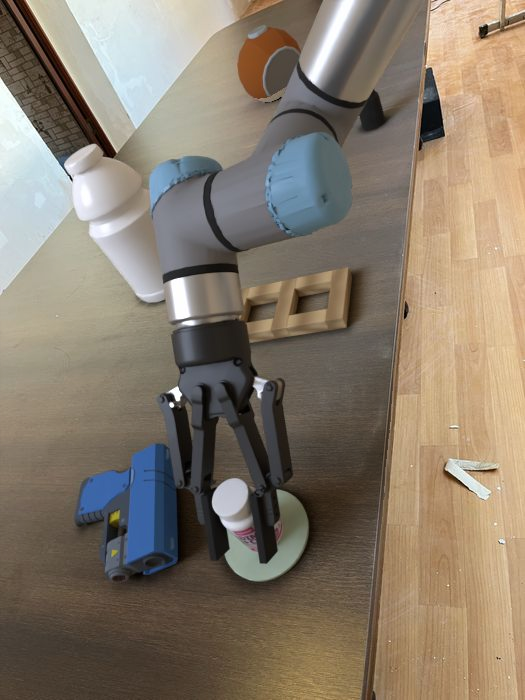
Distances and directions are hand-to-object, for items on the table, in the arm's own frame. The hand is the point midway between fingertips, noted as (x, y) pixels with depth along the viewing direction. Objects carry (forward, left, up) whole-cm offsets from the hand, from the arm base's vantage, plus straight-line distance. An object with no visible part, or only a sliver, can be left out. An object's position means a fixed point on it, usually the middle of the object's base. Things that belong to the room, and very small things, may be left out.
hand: (244, 555), depth 49 cm
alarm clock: (+22, -137, -4) cm, 139 cm away
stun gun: (+19, -5, -4) cm, 20 cm away
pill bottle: (0, -4, -3) cm, 5 cm away
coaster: (0, -4, -4) cm, 5 cm away
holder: (+3, -39, -4) cm, 39 cm away
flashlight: (-8, -95, -4) cm, 95 cm away
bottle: (+32, -55, -4) cm, 64 cm away
